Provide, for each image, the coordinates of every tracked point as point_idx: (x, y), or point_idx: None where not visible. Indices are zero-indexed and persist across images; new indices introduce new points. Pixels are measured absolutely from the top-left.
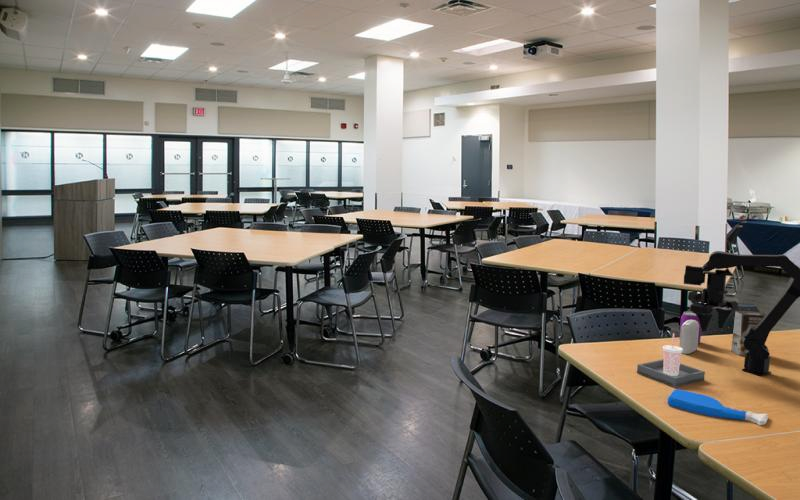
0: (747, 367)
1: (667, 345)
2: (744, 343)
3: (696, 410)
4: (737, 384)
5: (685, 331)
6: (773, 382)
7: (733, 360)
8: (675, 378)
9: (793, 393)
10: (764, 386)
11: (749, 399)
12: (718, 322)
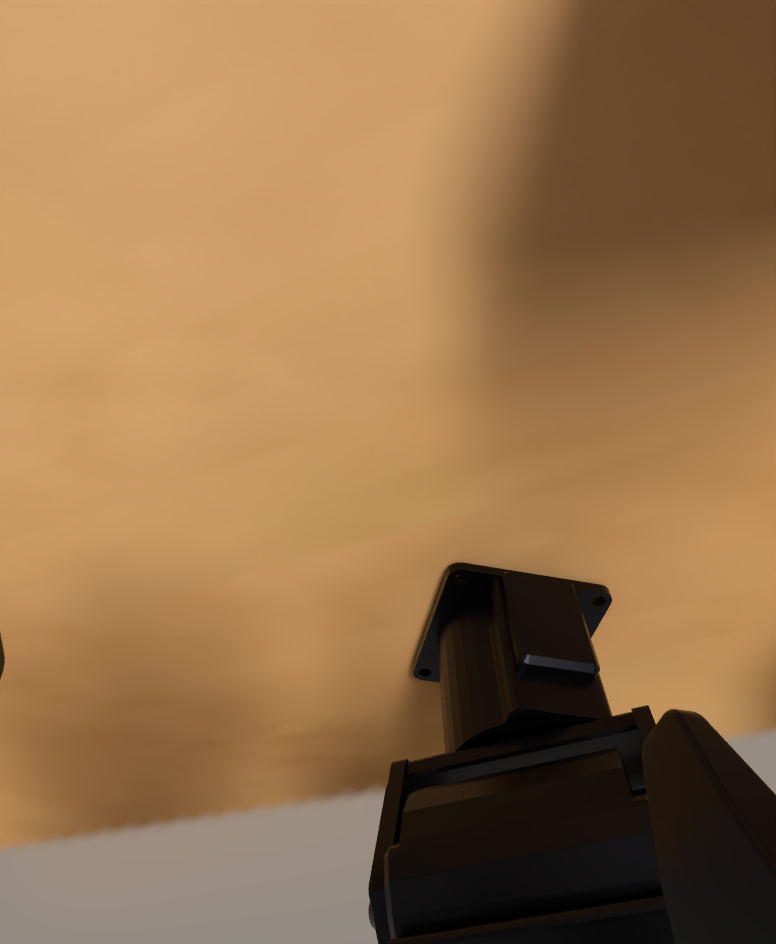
0: (476, 610)
1: None
2: (384, 862)
3: None
4: (67, 634)
5: None
6: (351, 730)
7: (765, 413)
8: None
9: (245, 811)
10: (212, 723)
11: None
12: (748, 847)
